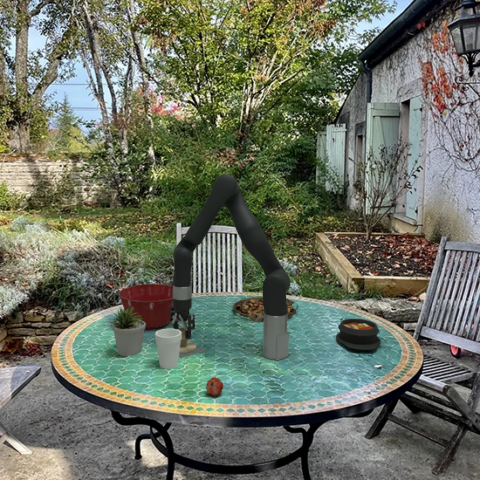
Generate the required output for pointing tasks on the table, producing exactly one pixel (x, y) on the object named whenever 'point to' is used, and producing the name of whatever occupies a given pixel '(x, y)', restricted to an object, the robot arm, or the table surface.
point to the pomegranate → (214, 386)
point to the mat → (197, 350)
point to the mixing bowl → (149, 303)
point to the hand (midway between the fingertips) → (181, 335)
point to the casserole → (358, 334)
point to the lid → (186, 343)
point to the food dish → (258, 308)
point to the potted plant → (128, 333)
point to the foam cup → (168, 347)
